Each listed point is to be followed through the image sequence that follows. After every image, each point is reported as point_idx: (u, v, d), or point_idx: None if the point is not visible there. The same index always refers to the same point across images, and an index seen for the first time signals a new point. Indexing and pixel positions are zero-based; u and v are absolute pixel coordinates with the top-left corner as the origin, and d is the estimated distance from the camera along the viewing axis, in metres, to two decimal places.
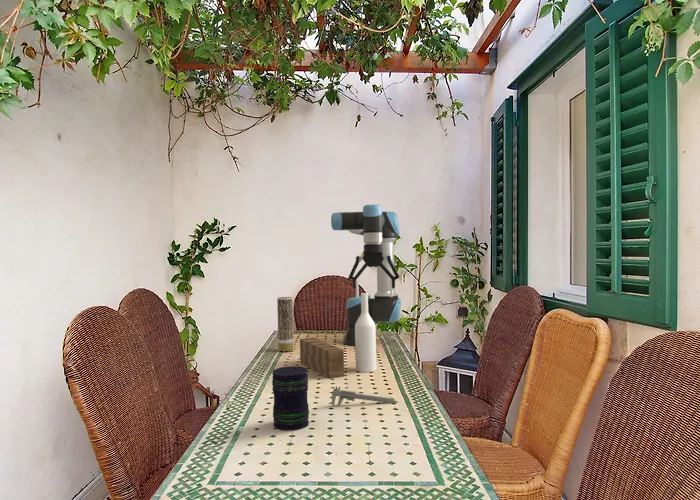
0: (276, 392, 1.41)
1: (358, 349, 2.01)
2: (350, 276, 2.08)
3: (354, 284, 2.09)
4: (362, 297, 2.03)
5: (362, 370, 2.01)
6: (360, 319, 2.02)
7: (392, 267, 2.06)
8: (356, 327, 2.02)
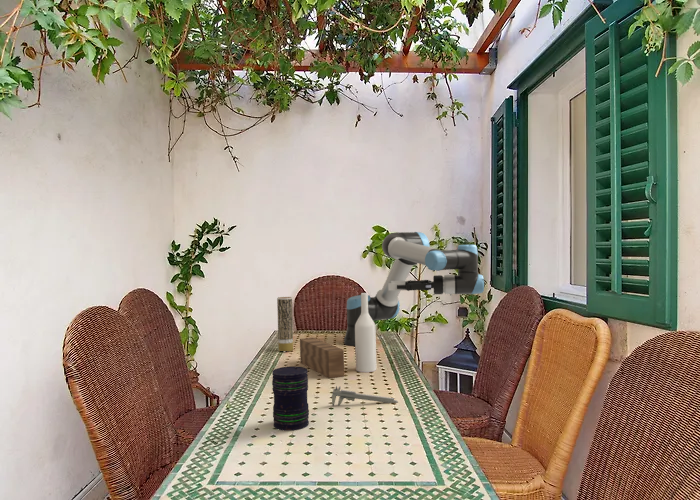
0: (276, 392, 1.41)
1: (358, 349, 2.01)
2: (409, 290, 2.00)
3: (401, 288, 2.02)
4: (362, 297, 2.03)
5: (362, 370, 2.01)
6: (360, 319, 2.02)
7: None
8: (356, 327, 2.02)
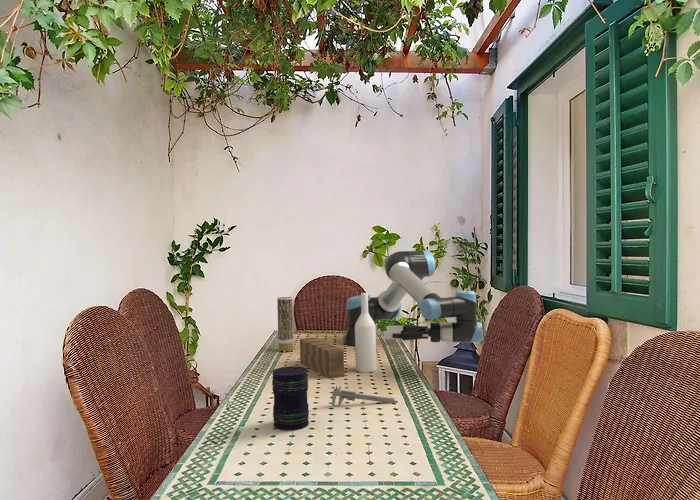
0: (276, 392, 1.41)
1: (358, 349, 2.01)
2: None
3: (397, 337, 1.94)
4: (362, 297, 2.03)
5: (362, 370, 2.01)
6: (360, 319, 2.02)
7: None
8: (356, 327, 2.02)
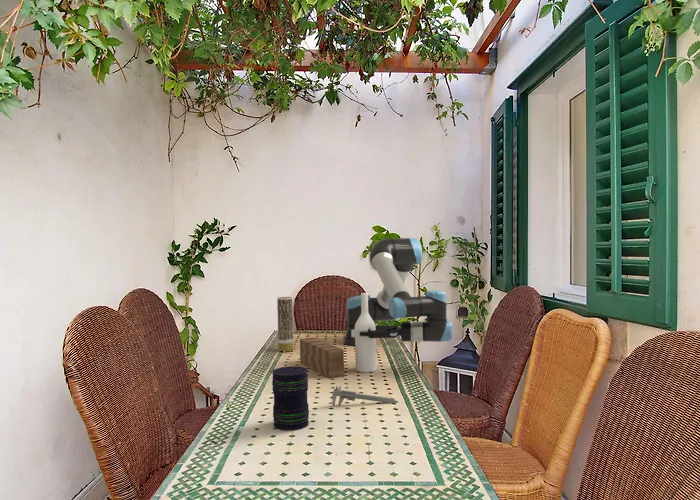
0: (276, 392, 1.41)
1: (358, 349, 2.01)
2: None
3: (364, 335, 1.99)
4: (362, 297, 2.03)
5: (362, 370, 2.01)
6: (360, 319, 2.02)
7: None
8: (356, 327, 2.02)
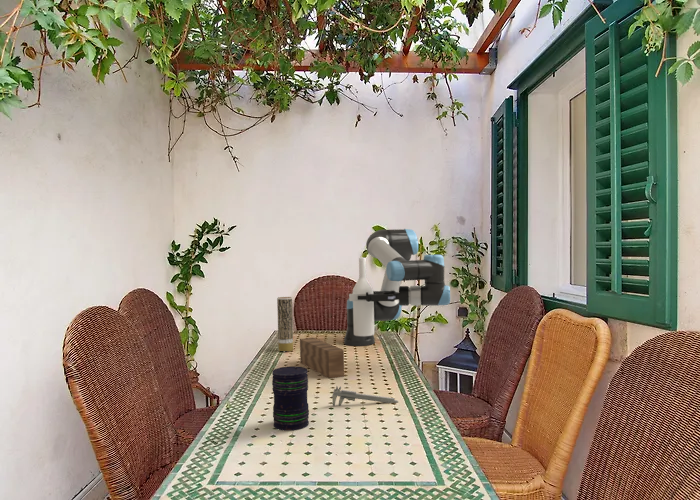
0: (276, 392, 1.41)
1: (356, 314, 2.01)
2: None
3: (362, 299, 1.99)
4: (360, 261, 2.03)
5: (360, 334, 2.00)
6: (358, 283, 2.02)
7: None
8: (354, 291, 2.02)
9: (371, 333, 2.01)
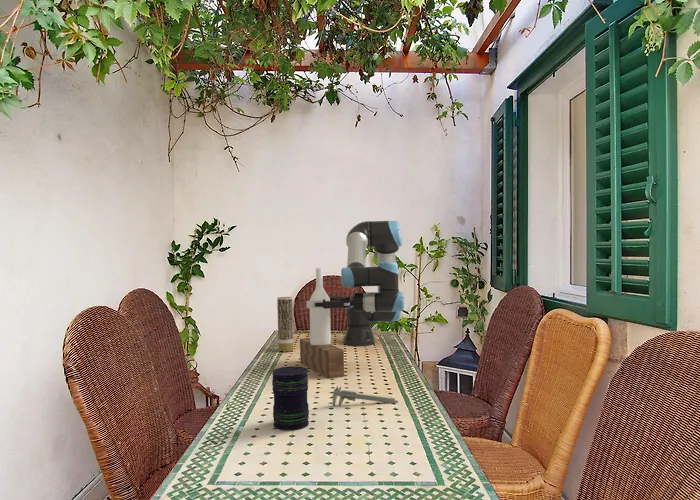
0: (276, 392, 1.41)
1: (312, 323, 2.04)
2: None
3: (319, 306, 1.99)
4: (317, 272, 2.06)
5: (316, 343, 2.03)
6: (314, 293, 2.05)
7: None
8: None
9: (327, 342, 2.04)
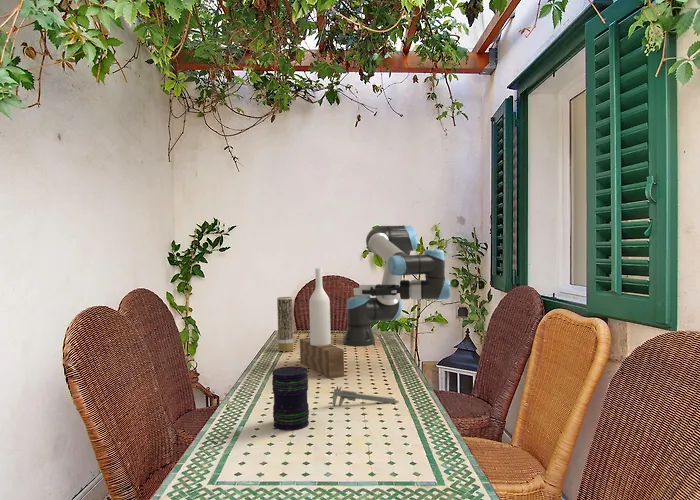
0: (276, 392, 1.41)
1: (312, 323, 2.04)
2: (374, 295, 1.98)
3: (366, 293, 2.00)
4: (316, 272, 2.06)
5: (316, 344, 2.03)
6: (314, 294, 2.05)
7: None
8: (310, 301, 2.05)
9: (327, 343, 2.04)
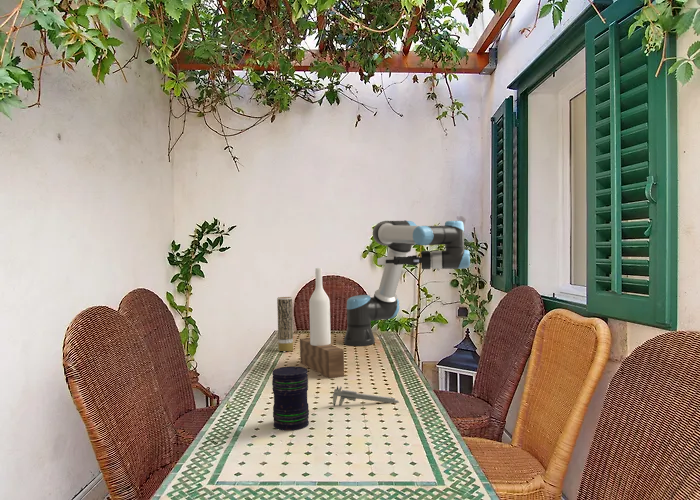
0: (276, 392, 1.41)
1: (312, 323, 2.04)
2: (398, 264, 2.07)
3: (390, 263, 2.09)
4: (316, 272, 2.06)
5: (316, 344, 2.03)
6: (314, 294, 2.05)
7: None
8: (310, 301, 2.05)
9: (327, 343, 2.04)
